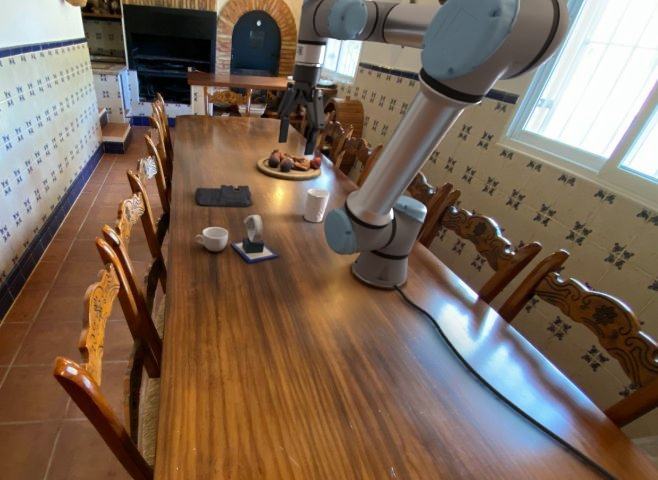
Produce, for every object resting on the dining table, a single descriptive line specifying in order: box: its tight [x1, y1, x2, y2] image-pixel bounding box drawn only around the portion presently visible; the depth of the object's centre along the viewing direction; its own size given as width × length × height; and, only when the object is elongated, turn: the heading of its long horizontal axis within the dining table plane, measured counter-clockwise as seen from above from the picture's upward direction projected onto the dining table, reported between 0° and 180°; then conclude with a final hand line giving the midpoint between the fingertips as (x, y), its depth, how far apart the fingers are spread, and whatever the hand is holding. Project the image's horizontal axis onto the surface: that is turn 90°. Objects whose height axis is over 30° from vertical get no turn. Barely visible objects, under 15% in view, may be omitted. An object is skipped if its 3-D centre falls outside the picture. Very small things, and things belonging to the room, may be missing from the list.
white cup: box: [303, 188, 331, 223], centre depth 131 cm, size 8×8×10 cm
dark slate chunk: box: [194, 184, 252, 208], centre depth 142 cm, size 15×22×5 cm
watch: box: [242, 214, 265, 254], centre depth 108 cm, size 6×8×11 cm
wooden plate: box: [256, 148, 323, 181], centre depth 175 cm, size 32×32×8 cm
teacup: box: [195, 226, 229, 252], centre depth 110 cm, size 10×8×5 cm
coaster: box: [230, 240, 278, 264], centre depth 112 cm, size 12×10×1 cm
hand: (294, 148), depth 109 cm, fingers open, 13 cm apart
